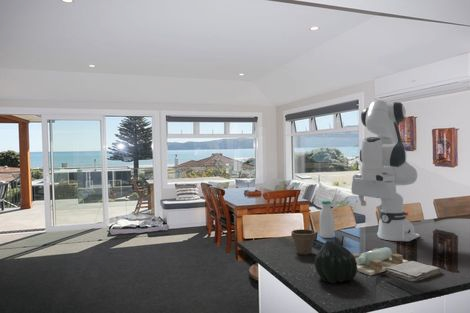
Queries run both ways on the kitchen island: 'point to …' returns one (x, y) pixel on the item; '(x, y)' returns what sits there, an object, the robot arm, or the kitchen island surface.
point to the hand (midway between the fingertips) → (372, 207)
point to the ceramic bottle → (374, 256)
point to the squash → (335, 263)
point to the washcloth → (413, 271)
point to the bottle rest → (379, 264)
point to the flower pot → (303, 240)
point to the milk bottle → (326, 220)
